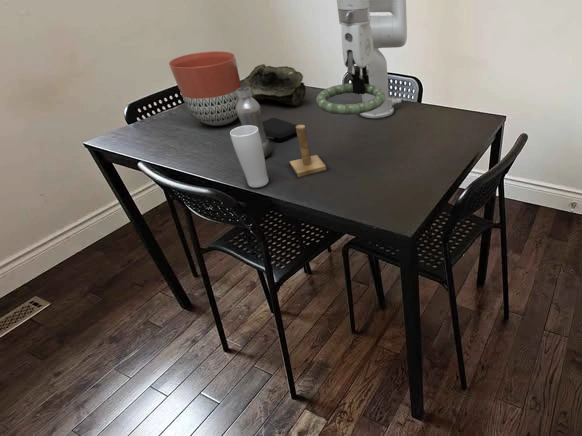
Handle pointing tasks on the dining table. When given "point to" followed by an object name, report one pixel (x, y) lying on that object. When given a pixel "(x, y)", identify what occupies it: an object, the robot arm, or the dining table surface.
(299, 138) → the coat peg
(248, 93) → the plastic bottle
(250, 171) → the drinking glass
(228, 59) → the planter
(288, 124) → the carrying case
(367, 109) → the hoop
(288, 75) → the hollow geode rock
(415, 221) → the dining table surface
